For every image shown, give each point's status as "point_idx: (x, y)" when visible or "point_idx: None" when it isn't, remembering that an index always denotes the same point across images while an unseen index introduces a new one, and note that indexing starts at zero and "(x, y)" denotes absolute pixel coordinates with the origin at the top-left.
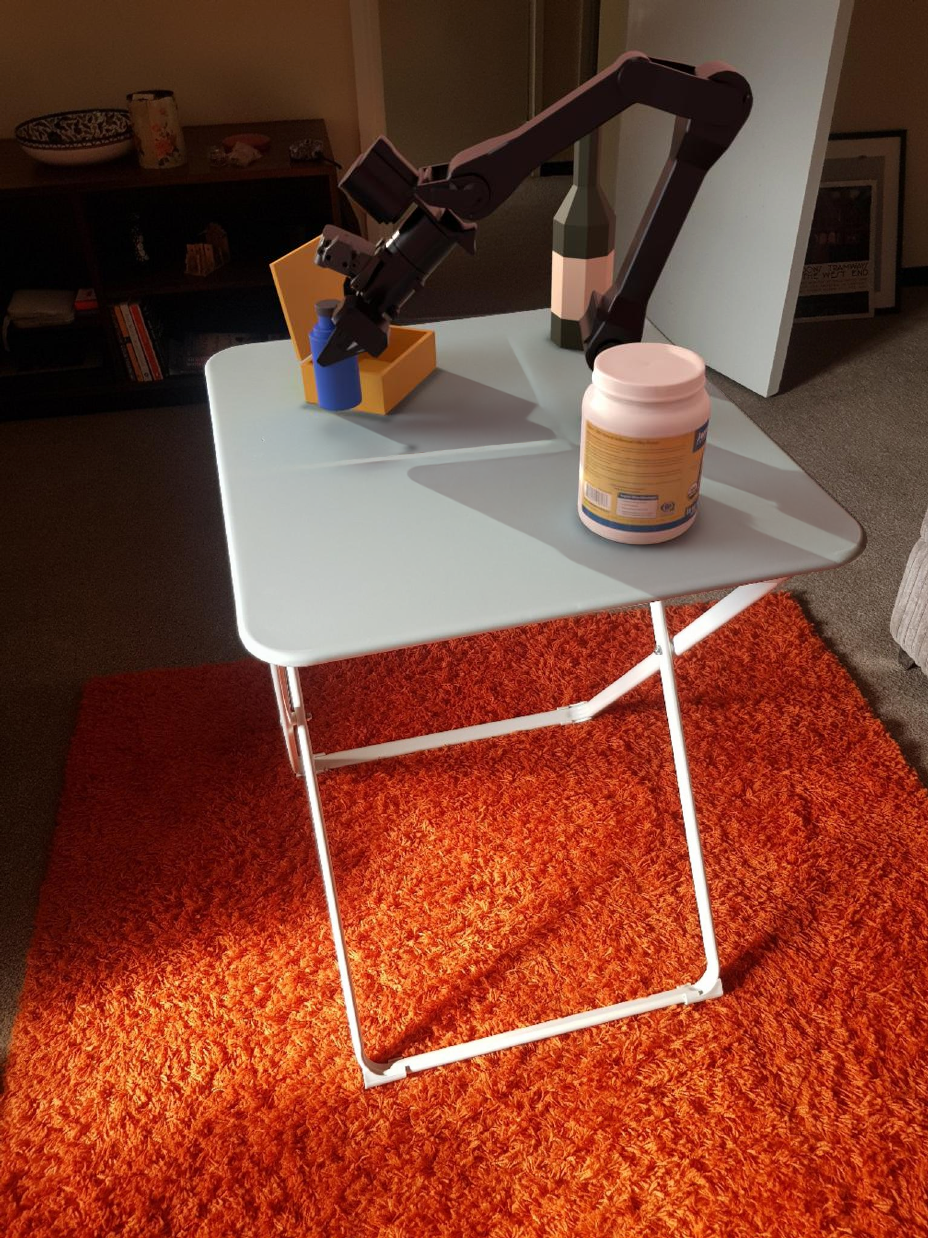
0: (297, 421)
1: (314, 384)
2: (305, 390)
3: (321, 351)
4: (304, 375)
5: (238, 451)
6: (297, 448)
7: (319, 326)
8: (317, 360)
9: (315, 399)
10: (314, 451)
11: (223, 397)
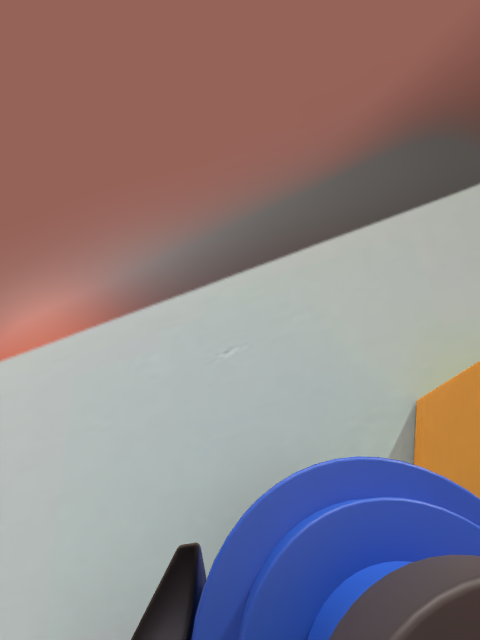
0: (332, 402)
1: (445, 419)
2: (436, 392)
3: (182, 598)
4: (459, 381)
5: (174, 318)
6: (192, 445)
7: (362, 565)
8: (175, 555)
9: (424, 426)
10: (178, 497)
11: (403, 219)
